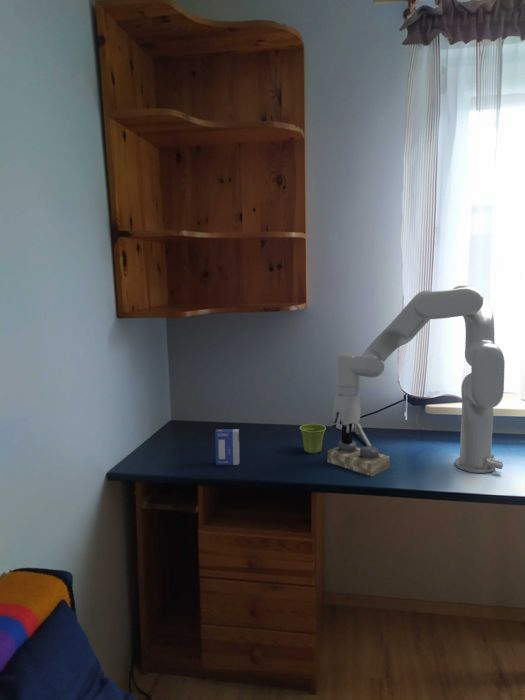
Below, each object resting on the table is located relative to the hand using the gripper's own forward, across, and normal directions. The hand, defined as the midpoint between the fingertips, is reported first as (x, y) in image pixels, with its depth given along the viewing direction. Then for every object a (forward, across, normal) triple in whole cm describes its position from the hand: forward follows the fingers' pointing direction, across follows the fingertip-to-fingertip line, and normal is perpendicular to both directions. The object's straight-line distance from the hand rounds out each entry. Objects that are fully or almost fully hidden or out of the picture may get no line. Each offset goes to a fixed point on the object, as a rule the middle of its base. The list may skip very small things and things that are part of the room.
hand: (346, 442), depth 181 cm
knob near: (+6, 0, +9) cm, 11 cm away
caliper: (+7, -22, -9) cm, 25 cm away
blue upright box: (+7, +30, -27) cm, 41 cm away
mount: (+7, 0, +5) cm, 8 cm away
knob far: (+6, 0, 0) cm, 6 cm away
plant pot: (+7, 0, -15) cm, 17 cm away
